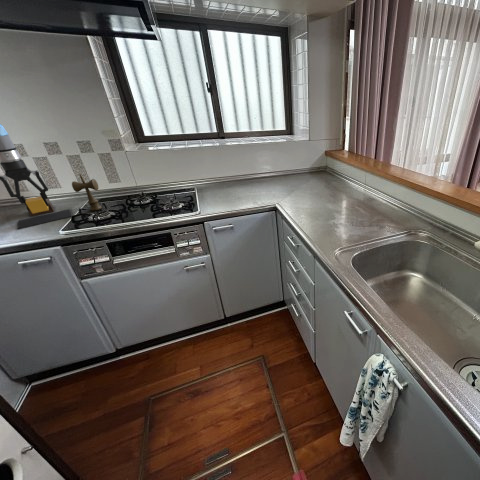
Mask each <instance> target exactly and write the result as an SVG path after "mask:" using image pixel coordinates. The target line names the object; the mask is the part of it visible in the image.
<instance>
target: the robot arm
mask: <svg viewBox="0 0 480 480" xmlns="http://www.w3.org/2000/svg"><path fill="white" fill-rule="evenodd" d="M0 166H1V168H2V169H3V171H4V174H3V175H0V181H1V182H2V184H3V185H4V187H5V190H6V191H7V193H8V195H9V197H11V198H16V199H17V200H19V203H20V204H21V205H25V208H26V207H27V208H28V210H30V209H29V207H28V206H27V204H26V199H27V198H25V196H24V195H21V190H20V182H22V181H27V182H28V183H30V185H32V186H33V187H34V188H35V189H36V190H38V191H39V196H41V197H42V199H43V200H44V202H45V204H46V206H49V204H48V202H47V201H46V199H49V197H48V195H47V193H46V192H48V191H49V188H48V186H47V184H46V183H45V181H44V180H43V178H42V177H41V175H40V171H39V170H30V168H28V167H27V164H26V162H25V161H24V159H22V156H21V154H20V152H19V151H18V148H17V146H15V144H14V142H13V140H12V139H11V136H10V135H9V133H8V131H7V130H6V128H5V127H4V126H3V124H1V123H0ZM31 174H32V175H33V176H35V177H36V179H37V181H38V182H39V184H40V185H41V186H42V187H41V186H40V185H39V184H38V183H37V182H35V181H34V180H33V178H31ZM8 178H9V179H11V180H13V183H14V189H15V192H14V191H13V189H12V187H11V186H10V183H9V182H8ZM28 210H27V211H28Z"/></svg>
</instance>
